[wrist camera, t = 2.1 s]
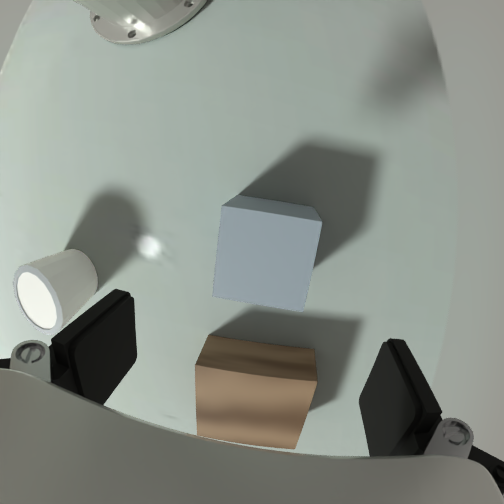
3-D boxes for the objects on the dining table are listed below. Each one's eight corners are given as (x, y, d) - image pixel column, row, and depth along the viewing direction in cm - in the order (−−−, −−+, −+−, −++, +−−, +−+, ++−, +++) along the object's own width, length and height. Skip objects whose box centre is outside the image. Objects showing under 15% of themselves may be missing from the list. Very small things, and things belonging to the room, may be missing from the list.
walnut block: (209, 333, 28) (195, 364, 23) (314, 347, 27) (317, 381, 22) (207, 403, 31) (197, 435, 26) (295, 415, 30) (294, 449, 25)
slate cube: (237, 194, 23) (221, 205, 18) (313, 206, 23) (322, 221, 17) (229, 265, 25) (212, 296, 20) (299, 277, 25) (303, 311, 19)
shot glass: (98, 244, 26) (52, 268, 19) (107, 308, 28) (70, 343, 21) (50, 241, 27) (5, 262, 20) (61, 299, 29) (23, 327, 22)
